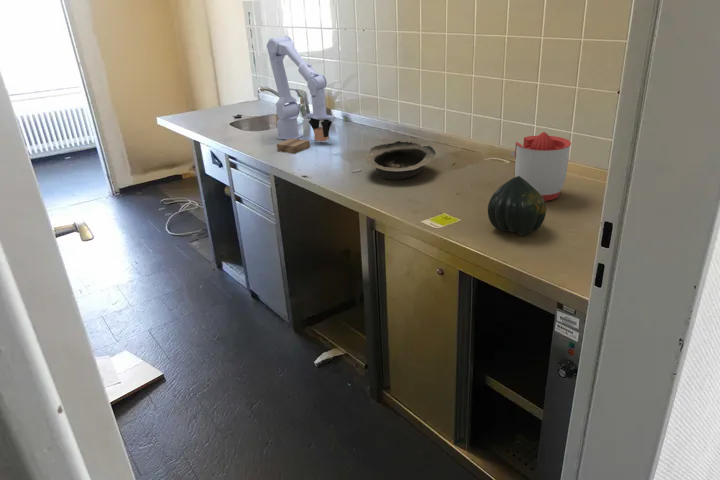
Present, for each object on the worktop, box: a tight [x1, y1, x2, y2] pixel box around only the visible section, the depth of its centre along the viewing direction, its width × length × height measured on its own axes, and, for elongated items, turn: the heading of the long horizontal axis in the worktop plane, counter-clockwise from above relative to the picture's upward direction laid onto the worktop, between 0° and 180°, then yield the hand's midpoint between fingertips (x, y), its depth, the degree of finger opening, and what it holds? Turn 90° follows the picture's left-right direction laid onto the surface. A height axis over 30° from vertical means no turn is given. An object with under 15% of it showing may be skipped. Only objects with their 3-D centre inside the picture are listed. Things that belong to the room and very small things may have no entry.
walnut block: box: [276, 138, 311, 155], centre depth 233 cm, size 10×10×4 cm
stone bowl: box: [365, 140, 436, 181], centre depth 193 cm, size 25×25×9 cm
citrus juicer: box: [510, 131, 572, 202], centre depth 165 cm, size 16×17×20 cm
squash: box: [487, 176, 547, 236], centre depth 145 cm, size 14×15×15 cm
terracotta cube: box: [313, 126, 330, 142], centre depth 237 cm, size 4×4×5 cm
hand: (321, 136), depth 238 cm, fingers closed on terracotta cube, 4 cm apart
